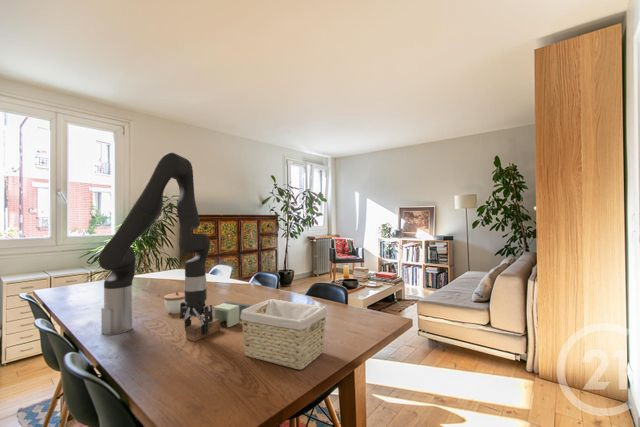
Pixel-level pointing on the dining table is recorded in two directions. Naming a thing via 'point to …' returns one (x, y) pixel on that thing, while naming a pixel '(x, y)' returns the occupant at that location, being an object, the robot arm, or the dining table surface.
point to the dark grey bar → (241, 306)
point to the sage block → (227, 313)
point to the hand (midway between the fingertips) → (196, 332)
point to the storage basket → (284, 332)
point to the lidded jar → (174, 301)
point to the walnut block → (195, 330)
